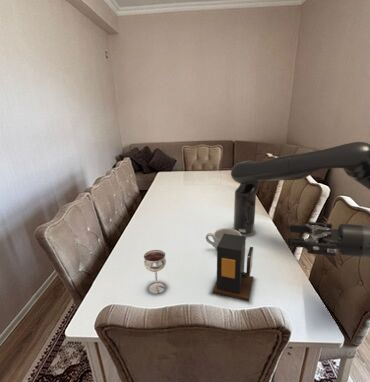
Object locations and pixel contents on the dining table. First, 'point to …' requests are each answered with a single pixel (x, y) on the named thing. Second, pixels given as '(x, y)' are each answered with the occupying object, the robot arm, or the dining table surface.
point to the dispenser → (232, 268)
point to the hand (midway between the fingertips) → (288, 234)
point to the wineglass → (155, 267)
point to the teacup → (220, 235)
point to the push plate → (249, 262)
